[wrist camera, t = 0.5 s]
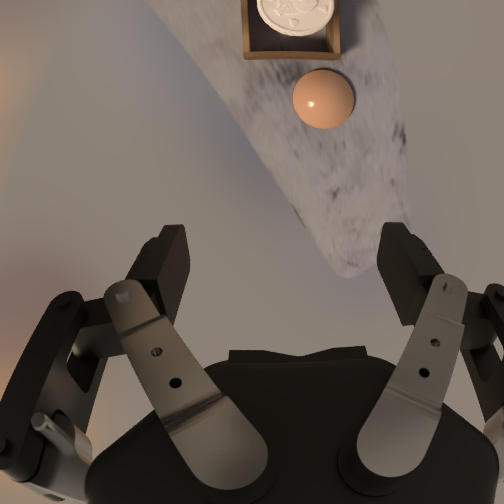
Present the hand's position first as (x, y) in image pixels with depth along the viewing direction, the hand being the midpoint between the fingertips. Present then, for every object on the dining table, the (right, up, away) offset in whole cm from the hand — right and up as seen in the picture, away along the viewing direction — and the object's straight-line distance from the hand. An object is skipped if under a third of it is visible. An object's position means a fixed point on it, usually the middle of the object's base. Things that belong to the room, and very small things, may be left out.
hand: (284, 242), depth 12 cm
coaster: (+7, +17, +20) cm, 27 cm away
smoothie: (+3, +25, +15) cm, 29 cm away
